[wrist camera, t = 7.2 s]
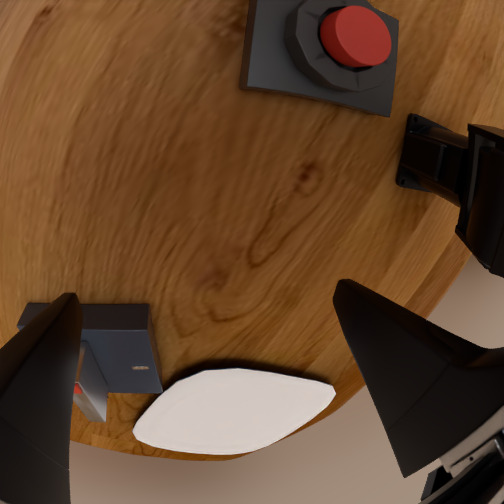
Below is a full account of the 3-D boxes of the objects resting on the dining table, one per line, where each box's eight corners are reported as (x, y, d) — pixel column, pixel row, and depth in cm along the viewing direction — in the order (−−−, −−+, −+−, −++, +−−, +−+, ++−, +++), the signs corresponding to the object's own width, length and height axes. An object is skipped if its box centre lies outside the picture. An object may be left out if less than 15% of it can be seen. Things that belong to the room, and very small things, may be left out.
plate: (194, 340, 24) (196, 354, 23) (350, 378, 36) (355, 387, 34) (120, 432, 31) (120, 441, 30) (250, 448, 43) (252, 456, 42)
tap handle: (108, 386, 21) (105, 425, 17) (93, 385, 20) (89, 423, 17) (87, 341, 18) (78, 385, 14) (69, 340, 17) (59, 383, 14)
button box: (380, 24, 13) (416, 17, 10) (371, 114, 17) (407, 121, 14) (252, -16, 11) (270, -41, 8) (238, 88, 15) (254, 84, 11)
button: (374, 24, 11) (393, 20, 9) (370, 74, 12) (389, 74, 11) (321, 4, 10) (337, -5, 8) (316, 57, 11) (332, 53, 10)
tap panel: (148, 295, 21) (145, 323, 18) (163, 374, 26) (164, 398, 23) (24, 294, 18) (11, 318, 15) (61, 370, 23) (57, 393, 20)
